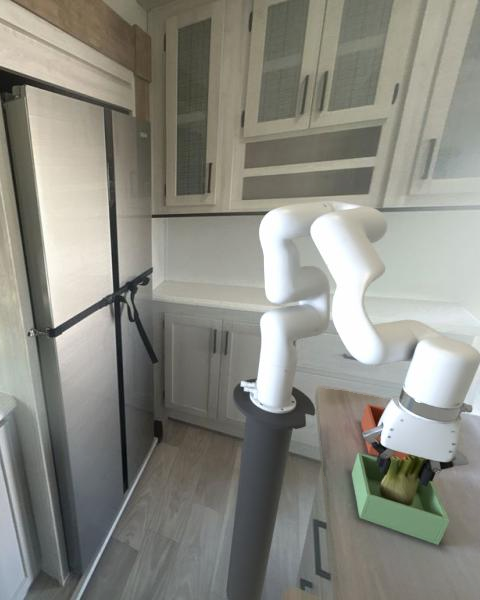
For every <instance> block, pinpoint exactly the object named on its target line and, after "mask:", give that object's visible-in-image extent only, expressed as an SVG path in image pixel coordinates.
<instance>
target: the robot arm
mask: <svg viewBox="0 0 480 600" xmlns="http://www.w3.org/2000/svg"><path fill="white" fill-rule="evenodd" d="M387 230H388V220H387V219H386V216H385V215H384V214H383V213H382V211H380V210H378V209H377V208H374V207H372V206H368V205H362V204H357V203H349V202H343V201H337V200H319V201H318V200H317V201H311V202H302V203H294V204H287V205H284V206H279V207H276V208H274V209H272V210H270V211H268V212H267V213H266V214H265V215H264V216H263V217H262V219H261V222H260V225H259V230H258V236H259V242H260V246H261V250H262V253H263V271H264V272H263V273H264V274H263V275H264V292H265V296H266V299H267V300H268V301H269V302H270V303H273V304H277V305H279V304H280V305H282V304H283V305H284V304H291V303H298V304H295V305H287V306H282V307H276V308H273V309H269V310H267V311H266V312H264V313H263V314H262V315H261V317H260V320H259V321H260V322H259V327H260V337H261V338H260V339H261V345H260V352H259V353H260V354H259V363H258V370H257V378H256V379H257V380H256V383H254V382H252V383H249V382H245V381H246V380H241V382H240V383H241V387H244V391H246V392H250V399H251V400H252V402H253V403H254V404H255V405H256V406H258V407H259V408H261V409H263V410H265V411H268V412H272V413H279V414H283V413H289V412H291V411H293V410H294V409H295V407H296V400H295V398H294V397H293V396H292V395H291V394H292V389H293V387H294V382H295V377H296V370H297V365H298V359H299V352H298V349H297V348H296V346H295V345H294V342H295V341H297V340H301V339H306V338H312V337H316V336H320V335H322V334H324V333H326V332H327V330H328V329H329V326H330V320H331V319H330V318H331V316H332V323H333V325H334V327H335V329H336V333H338V337H340V340H341V341H342V343H343V345H344V347H345V349H346V350H347V351H348V353H349V354H350V355H351V356H352V357H353V358H354V359H355V360H356V361H358V362H359V363H361V364H363V365H367V366H375V367H377V366H384V365H390V364H394V363H400V362H410V364H409V366H408V370H407V373H406V376H405V379H404V382H403V385H402V388H401V390H400V394H399V396H393V397H392V398H391V400H390V401H389V402H388V404H387V405H386V406H385V408H386V409H385V410H384V412H383V414H382V416H381V419H380V421H379V423H378V426H377V427H375V428H373V429H370V430H367V431H365V432H363V431H362V432H361V434H362V438H363V440H364V441H365V440H366V441H367V442H368V443H369V444H371V445H372V447H373V448H374V449H375V450H376V451H377V452H378V453H379V454H378V456H376V458H377V461H376V463H377V466H378V467H380V470H381V473H382V474H384V475H386V474H387V472H388V470H389V467H390V464H391V459H390V456H391V455H392V454H393V453H395V452H396V451H399V452H403V453H407V454H411V455H414V456H418V457H422V458H426V459H427V460H426V461H425V462H424V464H423V466H422V468H421V470H420V472H419V480H420V482H421V485H423V486H426V487H427V486H428V483H429V481H433V482H434V478H435V476H436V474H439V473H441V472H442V470H447V469H453V468H454V467H455V466H456V467H459V466H467V465H469V460H468V458H467V457H466V455H465V454H464V453H463V452H462V451H461V450H460V449H459V444H460V439H461V431H462V417H461V414H462V413H465V412H466V413H472V412H473V405H472V404H467V403H465V402H464V401H465V400H466V397H467V395H468V393H469V390H470V388H471V385H472V383H473V381H474V378H475V376H476V374H477V371H478V370H479V366H480V352H479V350H478V349H477V348H475V347H474V346H473V345H471V344H469V343H467V342H463V341H461V340H458V339H454V338H449V337H448V336H446V335H444V334H443V333H441V332H439V331H437V330H436V329H434V328H433V327H431V326H429V325H428V324H426V323H424V322H422V321H419V320H415V319H402V320H401V319H400V320H394V321H388V322H383V323H378V324H377V323H376V324H373V321H372V320H371V319H370V317H369V315H368V313H367V310H366V307H365V301H364V300H365V294H366V291H367V290H368V288H369V287H370V285H371V284H372V283H374V282H375V281H376V280H378V279H380V278H381V277H382V276H383V275H384V274H385V272H386V265H385V263H384V262H383V260H382V259H381V256H380V255H379V254H378V253H377V251H376V249H375V247H374V246H373V244H374V243H377V242H379V241H380V240H382V239H383V238H384V237H385V235H386V233H387ZM307 237H311V239H312V241H313V243H314V244H315V246H316V248H317V250H318V252H319V254H320V256H321V258H322V259H323V261H324V264H325V265H326V267H327V269H328V271H329V273H330V274H331V276H332V278H333V280H334V282H335V284H336V287H335V291H334V294H333V298H332V304H331V287H330V285H331V284H330V281H329V277H328V275H327V274H326V272H325V271H324V270H323V269H321V268H320V267H318V266H315V265H303V266H301V254H300V251H299V249H298V247H297V245H296V244H295V242H293V239H298V238H307ZM331 305H332V306H331ZM380 436H381V443H380V442H379V441H378V440H377V439H375V438H377V437H380ZM366 441H365V442H366Z"/></svg>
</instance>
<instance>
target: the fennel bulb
mask: <svg viewBox="0 0 480 600" xmlns="http://www.w3.org/2000/svg"><path fill="white" fill-rule="evenodd" d="M425 461H426V458H422V457H418V456H414V455H411V454H409V457H408V456H405V457H404V458H403V460H402V461H401V462H400V459H399V457H397V456H395V455H393V456H392V458H391V464H390V467H389V470H388V472H387V474H386V475H385V477H384V478H383V480H382V481H381V484H380V494H381V495H382V496H383V497H384V498H385V499H388V500H391V501H394V502H397V503H400V504H403V505H407V506H410V505H412V502H413V500H414V496H415V493H416V489H417V486H418V478H419V472H420V470H421V468H422V466H423V464H424V462H425ZM399 464H400V465H399Z"/></svg>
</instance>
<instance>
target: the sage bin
mask: <svg viewBox="0 0 480 600" xmlns="http://www.w3.org/2000/svg"><path fill="white" fill-rule="evenodd" d="M376 461H377V456H374V455H373V456H372V455H370V454H369V455H368V454H365V453H362V452H361V453H360V452H357V454H356V458H355V461H354V464H353V468H352V471H351V478H352V484H353V489H354V495H355V499H356V506H357V511H358V516H359V519H362V520H365V521H366V522H367V521H368V522H370V523H373V524H376V525H379V526H382V527H385V528H388V529H390V530H394V531H397V532H399V533H402V534H405V535H408V536H411V537H414V538H416V539H420V540H422V541H424V542H428V543H432V544H434V545H436V546H439V545H440V542H441V541H442V539H443V536H444V535H445V532H446V530H447V528H448V526H449V524H450V522H451V521H450V518H449V515H448V514H447V511H446V509H445V506H444V504H443V501H442V499H441V496H440V494H439V491H438V489H437V487H436V485H435V482H434V480H433V481H429V483H428V486H427V487H426V486H423V485H421V482H420V480H419V478H418V486H417V489H416V493H415V496H414V500H413V502H412V505H410V506H407V505H403V504H400V503H397V502H394V501H391V500H388V499H385V498H384V497H383V496H382V495H381V494H380V484H381V481H382V480H383V478H384V477H385V475H384V474H382V473H381V470H380V467H378V466H377V463H376ZM399 465H400V463H399Z"/></svg>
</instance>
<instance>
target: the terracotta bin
mask: <svg viewBox="0 0 480 600" xmlns="http://www.w3.org/2000/svg"><path fill="white" fill-rule="evenodd" d="M385 409H386V407H383V406H379V405H373V404H369V403H366V405H365V409H364V412H363V415H362V419H361V423H360V425H361V429H362V433H363V432H365V431H367V430H370V429H373V428H375V427H377V426H378V423H379V421H380V419H381V416H382V414H383V412H384V410H385ZM375 439H377V440H378V441H379V442H380V443H381V436H380V437H377V438H375ZM364 442H365V446H366V449H367V453H368V454H369V455H373V456H376V457H378V454H379V453H378V452H377V451H376V450H375V449H374V448H373V447H372V445H371V444H369V443H368V442H367V441H366V440H365V439H364ZM393 455H395V456H397V457H399V459H400V463H401V461H402V460H403V458H404V457H405V456H408V457H409V454H407V453H403V452H399V451H396V452H395V453H393V454H392V455H391V456H390V459H391V458H392V456H393ZM426 460H427V459H426Z"/></svg>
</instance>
